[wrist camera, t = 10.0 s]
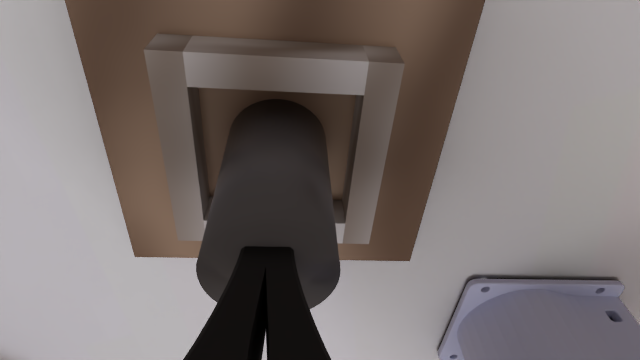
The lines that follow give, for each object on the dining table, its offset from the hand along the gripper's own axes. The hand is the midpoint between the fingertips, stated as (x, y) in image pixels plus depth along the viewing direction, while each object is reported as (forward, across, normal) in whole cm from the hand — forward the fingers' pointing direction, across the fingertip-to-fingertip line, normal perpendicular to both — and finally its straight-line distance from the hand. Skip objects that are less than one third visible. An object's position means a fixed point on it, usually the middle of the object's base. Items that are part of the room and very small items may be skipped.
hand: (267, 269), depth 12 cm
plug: (+7, 0, 0) cm, 7 cm away
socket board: (+8, 0, 0) cm, 8 cm away
